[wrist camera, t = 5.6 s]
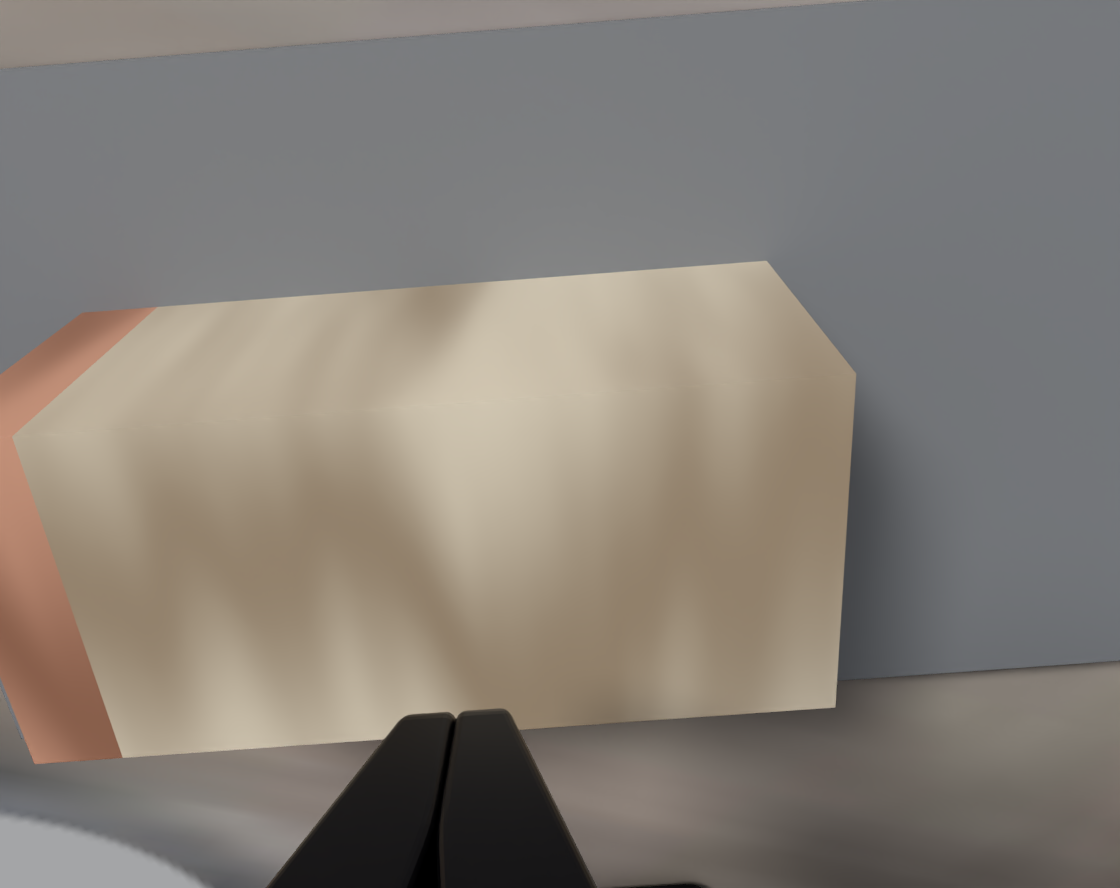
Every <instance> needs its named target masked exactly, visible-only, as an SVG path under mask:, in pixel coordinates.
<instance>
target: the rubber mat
mask: <svg viewBox="0 0 1120 888" xmlns="http://www.w3.org/2000/svg"><path fill="white" fill-rule="evenodd" d="M757 261H767V262H768V263H769V264H770V265H771V267H772V268H773V269H774V271H775V272H776V273H777V274H778V276H779V277H780V278H781V279H782V281H783V282H784V283H785V284H786V286H787V287H788V288H789V289H790V291H791V292H792V293H793V294H794V296H795V297H796V298H797V300H798V301H799V302H800V303H801V305H802V306H803V307H804V308H805V310H806V311H807V312H808V313H809V315H810V316H811V317H812V318H813V320H814V321H815V322H816V323H817V325H818V326H819V327H820V329H821V330H822V331H823V332H824V334H825V335H826V336H827V337H828V339H829V340H830V341H831V342H832V344H833V345H834V346H835V347H836V349H837V350H838V351H839V352H840V354H841V355H842V356H843V358H844V359H845V360H846V361H847V363H848V364H849V365H850V366H851V368H852V369H853V370H854V371H855V373H856V387H855V403H854V419H853V435H852V451H851V467H850V482H849V498H848V514H847V530H846V546H845V562H844V578H843V594H842V610H841V626H840V642H839V658H838V674H837V681H841V680H855V679H869V678H883V677H897V676H911V675H925V674H939V673H953V672H967V671H981V670H995V669H1009V668H1023V667H1038V666H1052V665H1066V664H1080V663H1094V662H1108V661H1120V0H867V1H855V2H842V3H829V4H817V5H804V6H791V7H779V8H766V9H753V10H741V11H728V12H715V13H703V14H690V15H677V16H665V17H652V18H639V19H627V20H614V21H601V22H589V23H576V24H563V25H551V26H538V27H525V28H513V29H500V30H487V31H475V32H462V33H450V34H437V35H424V36H412V37H399V38H386V39H374V40H361V41H348V42H336V43H323V44H310V45H298V46H285V47H272V48H260V49H247V50H234V51H222V52H209V53H196V54H184V55H171V56H158V57H146V58H133V59H120V60H108V61H95V62H82V63H70V64H57V65H44V66H32V67H19V68H6V69H0V374H2V373H3V372H4V371H6V370H7V369H8V368H9V367H11V366H12V365H13V364H15V363H16V362H17V361H19V360H20V359H21V358H23V357H24V356H25V355H27V354H28V353H29V352H31V351H32V350H33V349H35V348H36V347H37V346H39V345H40V344H41V343H43V342H44V341H45V340H47V339H48V338H49V337H51V336H52V335H53V334H55V333H56V332H57V331H59V330H60V329H61V328H63V327H64V326H65V325H66V324H68V323H69V322H70V321H72V320H73V319H74V318H76V317H77V316H78V315H80V314H81V313H85V312H98V311H111V310H124V309H137V308H151V307H164V306H177V305H190V304H203V303H216V302H230V301H243V300H256V299H269V298H282V297H296V296H309V295H322V294H335V293H348V292H361V291H375V290H388V289H401V288H414V287H427V286H441V285H454V284H467V283H480V282H493V281H506V280H520V279H533V278H546V277H559V276H572V275H586V274H599V273H612V272H625V271H638V270H651V269H665V268H678V267H691V266H704V265H717V264H731V263H744V262H757ZM0 687H1V689H2V692H3V694H4V697H5V699H6V702H7V704H8V707H9V709H10V712H11V714H12V717H13V719H14V722H15V724H16V727H17V729H18V732H19V734H20V737H21V739H24V736H23V734H22V731H21V729H20V726H19V724H18V721H17V718H16V716H15V713H14V711H13V708H12V706H11V703H10V701H9V698H8V696H7V693H6V691H5V688H4V686H3V683H2V681H1V678H0Z"/></svg>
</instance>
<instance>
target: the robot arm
mask: <svg viewBox="0 0 1120 888" xmlns="http://www.w3.org/2000/svg"><path fill="white" fill-rule="evenodd" d="M266 888H597V886H596V884H595V882H594V880H593V878H592V876H591V874H590V872H589V870H588V868H587V866H586V864H585V862H584V860H583V858H582V856H581V854H580V852H579V850H578V848H577V846H576V844H575V842H574V840H573V838H572V836H571V834H570V832H569V830H568V828H567V826H566V824H565V822H564V820H563V818H562V816H561V814H560V812H559V810H558V808H557V806H556V804H555V802H554V800H553V798H552V796H551V794H550V792H549V790H548V788H547V786H546V784H545V782H544V780H543V777H542V775H541V773H540V771H539V769H538V767H537V765H536V763H535V761H534V759H533V757H532V755H531V753H530V751H529V749H528V747H527V745H526V743H525V741H524V739H523V737H522V735H521V733H520V731H519V729H518V727H517V725H516V723H515V721H514V719H513V717H512V715H511V714H510V713H509V711H508V710H506V709H503V708H496V709H482V710H467V711H462V712H461V713H460V714H459V715H458V716H457V718H455V717H454V715H453V714H451V713H450V712H437V713H422V714H410V715H406V716H404V717H403V718H402V719H400V720H399V721H398V722H397V724H396V725H395V726H394V727H393V729H392V730H391V731H390V732H389V734H388V735H387V736H386V738H385V739H384V740H383V741H382V743H381V744H380V745H379V746H378V748H377V749H376V750H375V751H374V753H373V754H372V755H371V756H370V758H369V759H368V760H367V761H366V763H365V764H364V765H363V766H362V768H361V769H360V770H359V771H358V773H357V774H356V775H355V777H354V778H353V779H352V780H351V782H350V783H349V784H348V785H347V787H346V788H345V789H344V790H343V792H342V793H341V794H340V795H339V797H338V798H337V799H336V800H335V802H334V803H333V804H332V805H331V807H330V808H329V809H328V810H327V812H326V813H325V814H324V815H323V817H322V818H321V819H320V821H319V822H318V823H317V824H316V826H315V827H314V828H313V829H312V831H311V832H310V833H309V834H308V836H307V837H306V838H305V839H304V841H303V842H302V843H301V844H300V846H299V847H298V848H297V849H296V851H295V852H294V853H293V854H292V856H291V857H290V858H289V859H288V861H287V862H286V863H285V865H284V866H283V867H282V868H281V870H280V871H279V872H278V873H277V875H276V876H275V877H274V878H273V880H272V881H271V882H270V883H269V885H268V886H267V887H266ZM638 888H701V887H699V886H696V885H687V884H682V885H667V886H653V887H638Z"/></svg>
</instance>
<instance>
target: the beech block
mask: <svg viewBox="0 0 1120 888" xmlns="http://www.w3.org/2000/svg"><path fill="white" fill-rule="evenodd" d="M855 387H856V373H855V371H854V370H853V369H852V368H851V366H850V365H849V364H848V363H847V361H846V360H845V359H844V358H843V356H842V355H841V354H840V352H839V351H838V350H837V349H836V347H835V346H834V345H833V344H832V342H831V341H830V340H829V339H828V337H827V336H826V335H825V334H824V332H823V331H822V330H821V329H820V327H819V326H818V325H817V323H816V322H815V321H814V320H813V318H812V317H811V316H810V315H809V313H808V312H807V311H806V310H805V308H804V307H803V306H802V305H801V303H800V302H799V301H798V300H797V298H796V297H795V296H794V294H793V293H792V292H791V291H790V289H789V288H788V287H787V286H786V284H785V283H784V282H783V281H782V279H781V278H780V277H779V276H778V274H777V273H776V272H775V271H774V269H773V268H772V267H771V265H770V264H769V263H768V262H767V261H757V262H744V263H731V264H717V265H704V266H691V267H678V268H665V269H651V270H638V271H625V272H612V273H599V274H586V275H572V276H559V277H546V278H533V279H520V280H506V281H493V282H480V283H467V284H454V285H441V286H427V287H414V288H401V289H388V290H375V291H361V292H348V293H335V294H322V295H309V296H296V297H282V298H269V299H256V300H243V301H230V302H216V303H203V304H190V305H177V306H164V307H151V308H137V309H124V310H111V311H98V312H85V313H81V314H80V315H78V316H77V317H76V318H74V319H73V320H72V321H70V322H69V323H68V324H66V325H65V326H64V327H63V328H61V329H60V330H59V331H57V332H56V333H55V334H53V335H52V336H51V337H49V338H48V339H47V340H45V341H44V342H43V343H41V344H40V345H39V346H37V347H36V348H35V349H33V350H32V351H31V352H29V353H28V354H27V355H25V356H24V357H23V358H21V359H20V360H19V361H17V362H16V363H15V364H13V365H12V366H11V367H9V368H8V369H7V370H6V371H4V372H3V373H2V374H0V678H1V681H2V683H3V686H4V688H5V691H6V693H7V696H8V698H9V701H10V703H11V706H12V708H13V711H14V713H15V716H16V718H17V721H18V724H19V726H20V729H21V731H22V734H23V736H24V739H25V741H26V744H27V746H28V749H29V751H30V754H31V756H32V759H33V761H34V764H42V763H56V762H71V761H85V760H99V759H113V758H127V757H141V756H155V755H170V754H184V753H198V752H212V751H226V750H240V749H255V748H269V747H283V746H297V745H311V744H325V743H339V742H354V741H368V740H382V739H385V738H386V736H387V735H388V734H389V732H390V731H391V730H392V729H393V727H394V726H395V725H396V724H397V722H398V721H399V720H400V719H402V718H403V717H404V716H406V715H410V714H422V713H437V712H450V713H451V714H453V715H454V717H455V718H457V716H458V715H459V714H460V713H461V712H462V711H467V710H482V709H496V708H503V709H506V710H508V711H509V713H510V714H511V715H512V717H513V719H514V721H515V723H516V725H517V727H518V729H519V730H523V729H538V728H552V727H566V726H580V725H594V724H608V723H623V722H637V721H651V720H665V719H679V718H693V717H707V716H722V715H736V714H750V713H764V712H778V711H792V710H807V709H821V708H835V706H836V690H837V674H838V658H839V642H840V626H841V610H842V594H843V578H844V562H845V546H846V530H847V514H848V498H849V482H850V467H851V451H852V435H853V419H854V403H855Z"/></svg>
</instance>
